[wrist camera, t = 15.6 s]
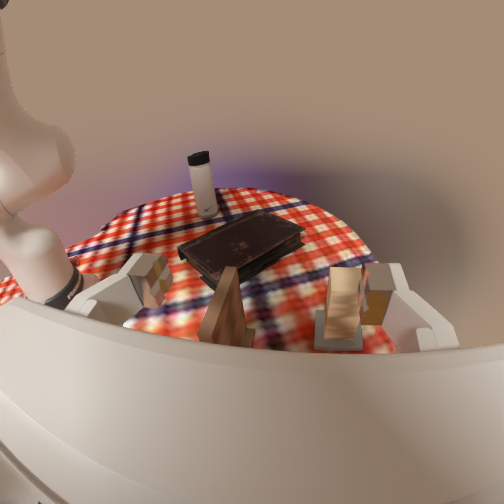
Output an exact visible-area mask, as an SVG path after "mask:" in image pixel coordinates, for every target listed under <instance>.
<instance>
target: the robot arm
mask: <svg viewBox="0 0 504 504" xmlns="http://www.w3.org/2000/svg"><path fill="white" fill-rule="evenodd" d="M8 2H9V0H0V9H3V8H4V7H5V6H6V5H7V4H8ZM5 52H6V51H5V43H4V35H3V29H2V23H1V19H0V259H1V260H2V261H3V263H4V264H5V265H6V266H7V268H8V269H9V271H10V272H11V274H12V275H13V277H14V278H15V280H16V281H17V283H18V284H19V286H20V288H21V289H22V291H23V292H24V294H25V295H26V298H24V297H17V298H14V299H12V300H10V301H8V302H6V303H5V304H3V305H1V306H0V504H504V342H502V343H496V344H491V345H483V346H477V347H469V348H461V349H460V346H459V343H458V340H457V337H456V334H455V331H454V328H453V325H452V324H451V323H449V322H448V321H447V320H446V319H445V318H444V317H443V316H442V315H441V314H439V313H438V312H437V311H436V310H435V309H434V308H433V307H431V306H430V305H429V304H428V303H427V302H425V301H424V300H423V299H422V298H421V297H420V296H418V295H417V294H416V293H415V292H414V291H410V290H409V287H408V284H407V281H406V278H405V276H404V273H403V270H402V267H401V265H400V264H399V263H387V264H384V263H382V264H381V263H363V264H362V268H361V275H362V278H361V279H360V280H359V284H358V293H357V296H358V304H359V305H360V310H359V315H360V324H361V325H380V326H381V327H382V329H383V330H384V331H385V332H386V334H387V335H388V336H389V338H390V339H391V340H392V342H393V343H394V344H395V346H396V347H397V348H398V350H399V351H400V352H401V353H393V354H326V353H304V352H289V351H276V350H264V349H254V348H245V347H236V346H228V345H220V344H213V343H206V342H200V341H193V340H187V339H181V338H175V337H170V336H165V335H159V334H154V333H149V332H144V331H140V330H135V329H131V328H126V327H122V324H123V323H124V322H125V321H127V320H128V319H129V318H130V317H132V316H133V315H134V314H135V313H137V312H138V311H139V310H141V309H142V308H143V307H150V308H160V306H161V304H162V302H163V301H164V299H165V296H164V294H165V293H167V292H168V291H169V290H170V288H171V287H172V282H173V276H172V272H171V270H170V269H169V268H168V267H167V264H168V260H167V257H166V256H165V255H163V254H151V253H134V254H133V255H132V256H131V258H130V259H129V260H128V261H127V262H126V264H125V265H124V266H123V267H122V268H121V270H120V271H119V272H118V273H117V274H113V275H111V276H109V277H108V278H106V279H104V280H102V281H99V279H98V277H97V276H96V275H94V274H91V273H80V271H79V270H78V269H77V268H76V266H80V260H79V258H78V257H77V256H75V257H73V258H68V256H67V254H66V252H65V249H64V247H63V245H62V243H61V240H60V238H59V236H58V234H57V233H56V232H55V231H54V230H53V229H51V228H50V227H48V226H45V225H38V224H30V223H27V222H25V221H23V220H22V219H21V218H20V217H19V216H18V214H17V213H18V212H20V211H22V210H24V209H26V208H27V207H29V206H31V205H33V204H35V203H37V202H39V201H41V200H43V199H45V198H47V197H48V196H50V195H51V194H53V193H54V192H56V191H57V190H58V189H60V188H61V187H62V186H64V185H65V184H67V183H68V182H69V181H70V179H71V177H72V174H73V171H74V167H75V149H74V146H73V143H72V141H71V139H70V137H69V136H68V135H67V134H66V133H65V132H64V131H63V130H62V129H60V128H59V127H56V126H52V125H49V124H45V123H43V122H40V121H38V120H37V119H35V118H33V117H32V116H31V115H29V114H28V113H27V112H26V111H25V110H24V109H23V107H22V106H21V105H20V104H19V102H18V100H17V98H16V96H15V93H14V90H13V87H12V84H11V80H10V76H9V71H8V65H7V59H6V53H5ZM4 53H5V54H4Z"/></svg>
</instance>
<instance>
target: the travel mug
mask: <svg viewBox="0 0 504 504" xmlns="http://www.w3.org/2000/svg"><path fill="white" fill-rule="evenodd" d="M187 158H188V162H189V171H190V176H191V181H192V186H193V192H194V197H195V202H196V207H197V211H198V216H199V217H200V218H203V219H208V218H212V217H214V216H216V215H217V214H218V208H217V202H216V196H215V190H214V184H213V177H212V171H211V164H210V159H209V151H202V152H198V153H195V154H193V155H191V156H188V157H187Z"/></svg>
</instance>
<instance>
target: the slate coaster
mask: <svg viewBox="0 0 504 504" xmlns="http://www.w3.org/2000/svg"><path fill="white" fill-rule="evenodd" d="M324 312H325V311H322V310H316V314H315V336H314V350H338V351H362V350H363V340H362V329H361V324H360V321H359V324H358V327H357V331H356V334H355V338H354V341H347V340H324Z"/></svg>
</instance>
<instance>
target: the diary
mask: <svg viewBox="0 0 504 504" xmlns="http://www.w3.org/2000/svg"><path fill="white" fill-rule="evenodd" d="M303 230H305V228H303V227H301V226H299V225H297V224H295V223H292V222H290V221H288V220H285V219H283V218H281V217H278V216H275V215H273V214H270V213H267V212H264V211H261V210H259V209H257V210H255V211H253V212H251V213H249V214H247V215H245V216H243V217H241V218H239V219H236V220H234V221H232V222H229V223H227V224H224V225H222V226H220V227H218V228H216V229H214V230H212V231H210V232H208V233H206V234H204V235H202V236H200V237H198V238H196V239H193V240H191V241H189V242H186V243H184V244H182V245H180V246H178V247H177V250H178V254H179V257H180V260H181V261H182V260H184V259H187V262H189V263H190V264H191V265H192V266H193V267H194V268H195V269H196V270H197V271H198V272H200V273H201V274H202V275H203V276H201V277H200V278H201V279H202V280H203V281H204V282H205V283H206V284H207V285H208V286H209V287H210V288H211V289H213V290H214V291H215V290H216V288H217V285H218V283H219V281H220V278H221V276H222V274H223V271H224V269H225V267H226V266H229V267H237V271H238V278H239V284H242V283H243V282H245V281H247V280H248V279H250V278H252V277H253V276H255V275H256V274H258V273H260V272H261V271H263V270H264V269H266V268H267V267H269V266H271V265H273V264H275V263H276V262H278V261H279V260H278V259H280V258H282V257H283V256H285V255H287V254H289V253H292V252H294V251H296V250H297V249H299V248H301V247H302V246H304V245H306V244H304V243H302V242H300V232H302V231H303ZM277 260H278V261H277ZM187 262H186V263H187Z"/></svg>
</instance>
